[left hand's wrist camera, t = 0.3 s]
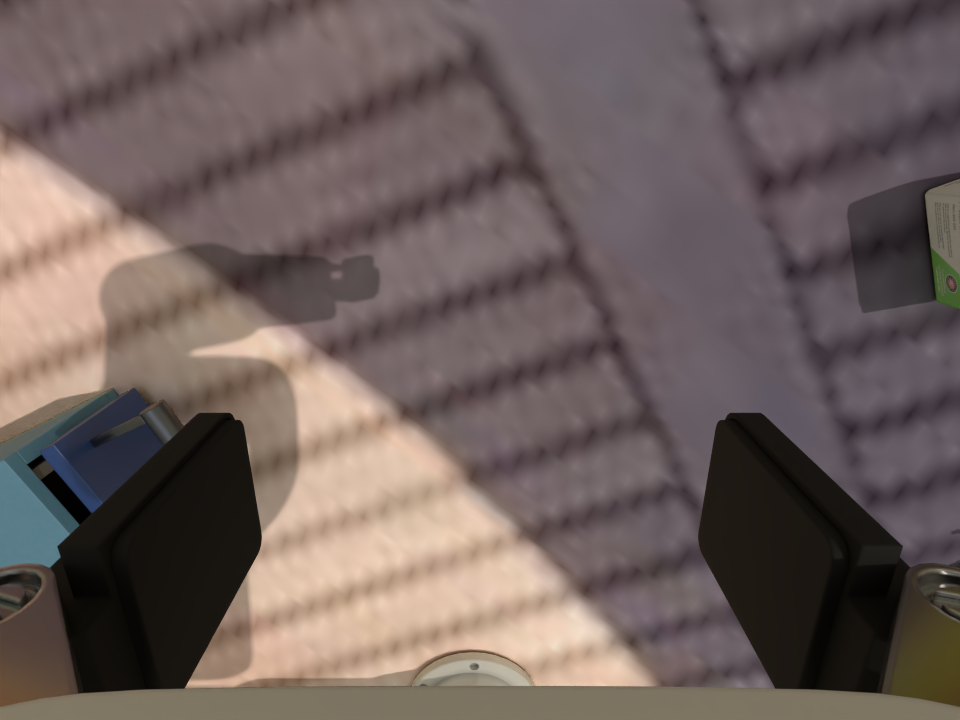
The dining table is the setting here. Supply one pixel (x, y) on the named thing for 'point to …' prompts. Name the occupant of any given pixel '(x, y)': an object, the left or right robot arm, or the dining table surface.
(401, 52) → the dining table surface
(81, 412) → the cabinet
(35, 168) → the dining table surface
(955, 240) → the ink box
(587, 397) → the dining table surface
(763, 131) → the dining table surface
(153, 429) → the drawer
